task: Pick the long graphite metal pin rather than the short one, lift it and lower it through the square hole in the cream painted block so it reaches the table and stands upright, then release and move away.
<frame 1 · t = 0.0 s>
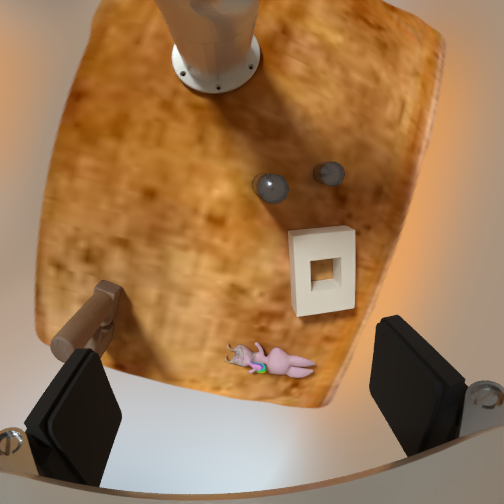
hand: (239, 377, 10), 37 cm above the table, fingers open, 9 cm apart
hole block: (318, 266, 48), on the table
long pin: (263, 184, 44), on the table
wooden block: (107, 310, 48), on the table
pink toy figurine: (268, 354, 52), on the table
short pin: (323, 173, 44), on the table
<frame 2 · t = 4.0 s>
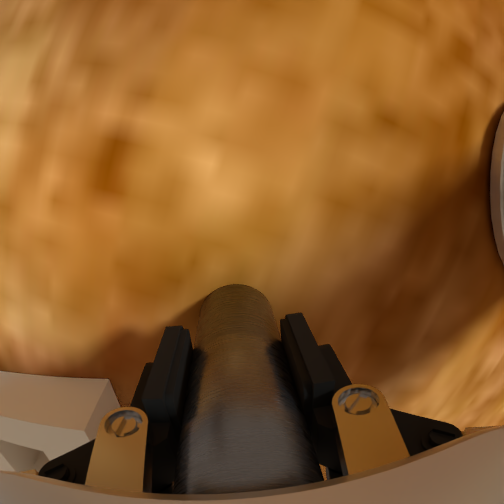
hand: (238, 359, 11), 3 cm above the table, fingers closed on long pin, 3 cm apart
hole block: (54, 428, 15), on the table
long pin: (236, 318, 14), on the table, touching gripper
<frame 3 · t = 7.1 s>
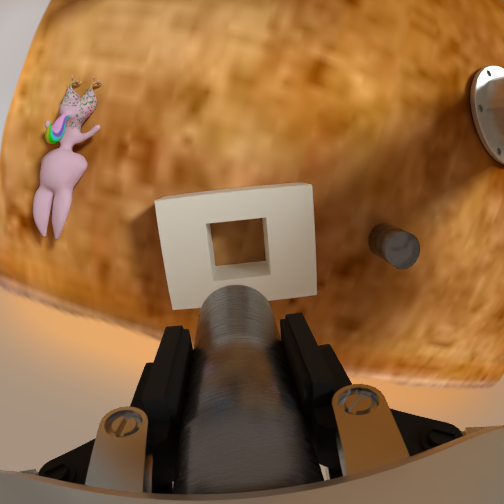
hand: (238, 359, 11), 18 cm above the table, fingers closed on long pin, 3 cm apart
hole block: (238, 238, 28), on the table
long pin: (236, 318, 14), point 15 cm above the table, touching gripper
pink toy figurine: (74, 155, 26), on the table
short pin: (383, 239, 29), on the table
when the fingers open (5 cm above the table, at t = 10.5 s): long pin drops 2 cm, resting in hole block.
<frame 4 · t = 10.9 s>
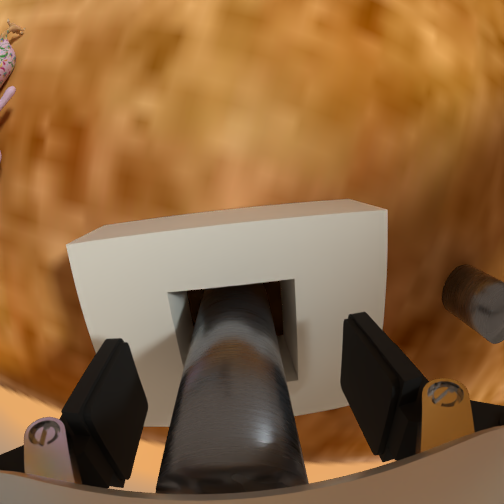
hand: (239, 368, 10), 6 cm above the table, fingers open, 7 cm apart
hole block: (235, 300, 16), on the table
long pin: (235, 300, 16), resting in hole block
short pin: (460, 288, 17), on the table
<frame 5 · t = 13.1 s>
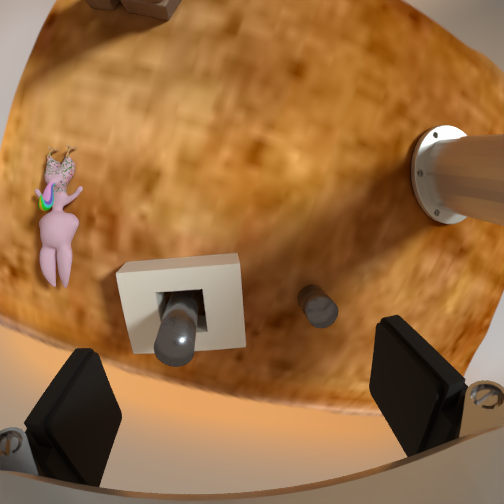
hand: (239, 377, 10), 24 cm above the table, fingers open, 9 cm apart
hole block: (185, 297, 34), on the table
long pin: (185, 297, 34), resting in hole block
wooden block: (135, 2, 25), on the table
pink toy figurine: (65, 213, 30), on the table
short pin: (311, 297, 35), on the table
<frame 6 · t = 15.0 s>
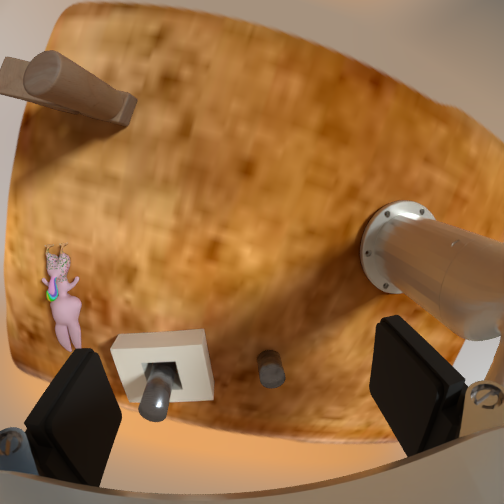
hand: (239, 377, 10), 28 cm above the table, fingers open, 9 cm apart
hole block: (166, 359, 41), on the table
long pin: (166, 359, 41), resting in hole block
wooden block: (96, 104, 32), on the table
pink toy figurine: (70, 294, 38), on the table
short pin: (268, 359, 42), on the table
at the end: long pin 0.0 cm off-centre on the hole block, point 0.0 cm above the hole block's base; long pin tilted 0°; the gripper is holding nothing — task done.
